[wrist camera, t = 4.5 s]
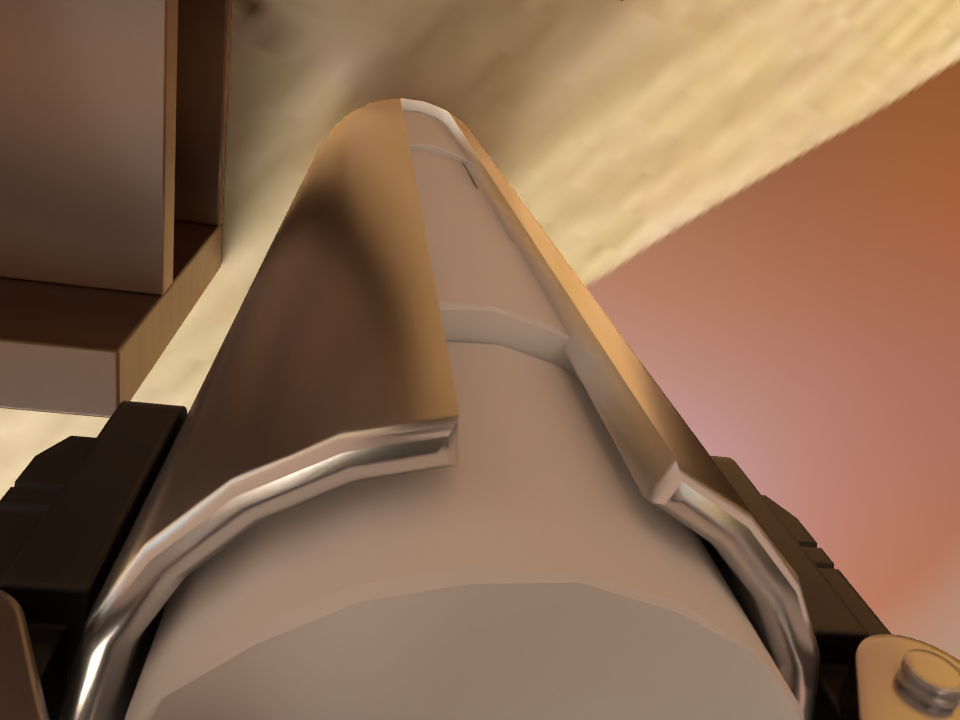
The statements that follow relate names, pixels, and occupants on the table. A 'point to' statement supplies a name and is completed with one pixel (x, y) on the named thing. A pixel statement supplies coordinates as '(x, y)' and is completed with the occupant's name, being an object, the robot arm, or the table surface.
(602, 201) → the table surface
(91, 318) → the shelf
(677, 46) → the table surface
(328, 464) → the beige cylinder
